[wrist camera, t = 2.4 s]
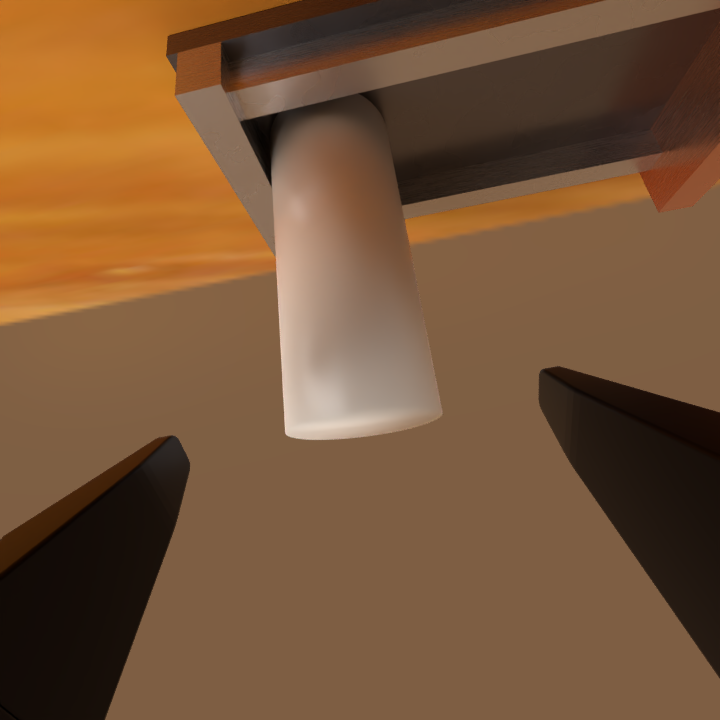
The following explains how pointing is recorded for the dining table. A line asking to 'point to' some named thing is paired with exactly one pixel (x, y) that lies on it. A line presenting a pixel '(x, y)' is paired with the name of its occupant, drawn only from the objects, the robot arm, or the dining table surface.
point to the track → (470, 93)
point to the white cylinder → (346, 278)
